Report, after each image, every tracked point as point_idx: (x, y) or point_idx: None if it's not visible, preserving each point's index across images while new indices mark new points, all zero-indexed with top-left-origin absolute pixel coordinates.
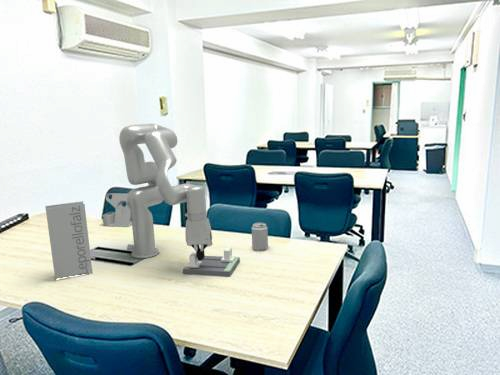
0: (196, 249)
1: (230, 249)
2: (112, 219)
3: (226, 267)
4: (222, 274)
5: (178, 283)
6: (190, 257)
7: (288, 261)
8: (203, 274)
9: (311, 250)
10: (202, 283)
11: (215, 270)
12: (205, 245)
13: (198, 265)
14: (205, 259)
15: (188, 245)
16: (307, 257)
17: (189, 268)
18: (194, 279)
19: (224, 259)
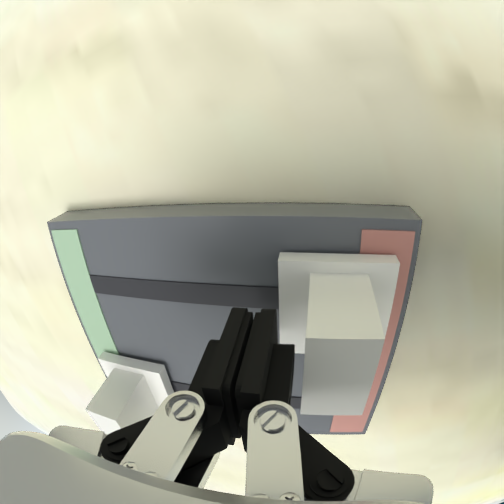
0: (269, 422)
1: (99, 425)
2: None
3: (89, 283)
4: (93, 212)
5: (369, 18)
6: (366, 324)
7: (17, 359)
8: (227, 203)
9: (32, 407)
10: (173, 57)
11: (124, 228)
12: (110, 450)
13: (278, 274)
14: None
15: (407, 477)
16: (10, 373)
17: (362, 238)
18: (268, 106)
19: (141, 374)
